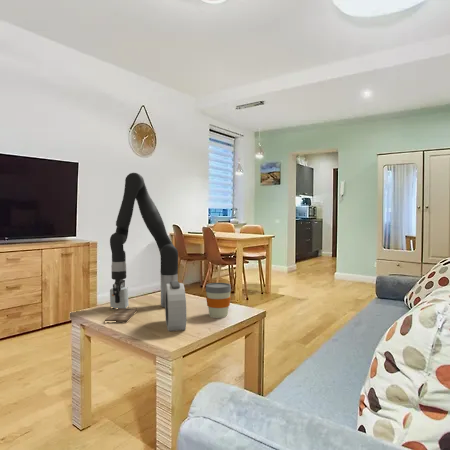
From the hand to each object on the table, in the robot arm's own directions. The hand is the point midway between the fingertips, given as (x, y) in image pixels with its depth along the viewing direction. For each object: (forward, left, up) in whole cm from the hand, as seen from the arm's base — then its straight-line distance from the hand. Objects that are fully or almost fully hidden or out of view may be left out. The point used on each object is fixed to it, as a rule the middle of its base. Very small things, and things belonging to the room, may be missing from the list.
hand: (119, 301), depth 190 cm
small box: (0, 0, -4) cm, 4 cm away
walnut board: (-6, +16, -4) cm, 18 cm away
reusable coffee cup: (-53, +15, -4) cm, 55 cm away
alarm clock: (-34, +31, -4) cm, 46 cm away
